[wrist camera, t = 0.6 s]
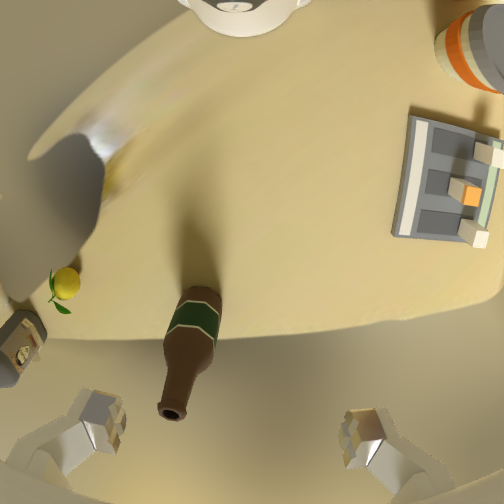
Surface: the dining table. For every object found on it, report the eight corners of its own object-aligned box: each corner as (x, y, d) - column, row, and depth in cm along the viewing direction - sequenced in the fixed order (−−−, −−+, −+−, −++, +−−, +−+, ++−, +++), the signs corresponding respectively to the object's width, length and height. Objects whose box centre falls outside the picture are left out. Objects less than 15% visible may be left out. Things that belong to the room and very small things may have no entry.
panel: (408, 114, 39) (412, 115, 38) (498, 139, 39) (504, 140, 37) (390, 233, 48) (394, 237, 46) (477, 240, 47) (482, 244, 46)
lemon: (87, 292, 56) (63, 323, 47) (63, 281, 55) (37, 310, 46) (89, 265, 53) (63, 294, 44) (64, 253, 52) (35, 281, 43)
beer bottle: (188, 277, 53) (145, 387, 32) (231, 295, 54) (211, 410, 33) (175, 310, 56) (135, 417, 35) (214, 326, 58) (191, 437, 36)
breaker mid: (450, 177, 41) (467, 186, 37) (464, 179, 41) (482, 188, 36) (447, 194, 42) (463, 204, 38) (461, 196, 42) (478, 206, 38)
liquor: (27, 337, 64) (-31, 421, 37) (13, 308, 60) (-55, 391, 33) (51, 340, 63) (-8, 433, 37) (36, 310, 59) (-34, 403, 33)
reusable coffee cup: (412, 59, 35) (467, 48, 22) (440, 4, 30) (494, -17, 17) (470, 108, 37) (531, 119, 24) (494, 54, 32) (554, 52, 19)
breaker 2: (461, 218, 44) (476, 230, 39) (474, 220, 44) (489, 232, 39) (457, 234, 45) (472, 247, 41) (470, 235, 45) (485, 248, 40)
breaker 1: (475, 141, 38) (493, 147, 34) (488, 145, 38) (506, 151, 33) (473, 158, 39) (491, 165, 35) (486, 161, 39) (504, 169, 35)
